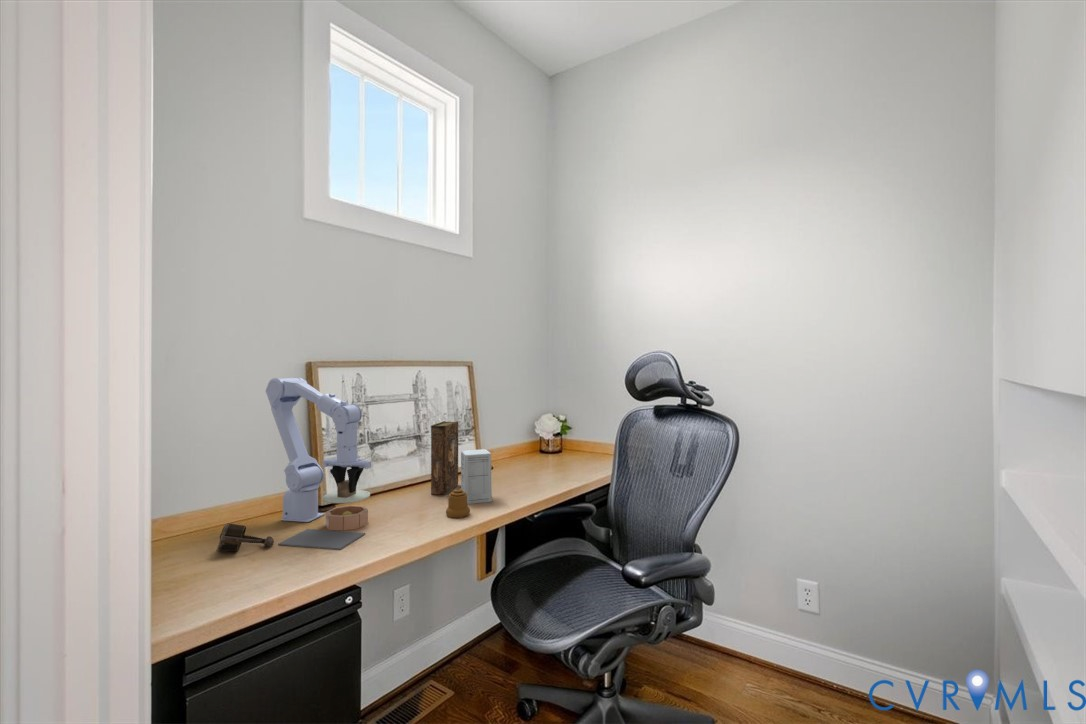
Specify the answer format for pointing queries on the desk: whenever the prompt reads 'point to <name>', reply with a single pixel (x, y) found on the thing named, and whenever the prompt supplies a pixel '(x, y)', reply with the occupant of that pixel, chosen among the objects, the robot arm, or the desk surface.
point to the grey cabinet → (476, 475)
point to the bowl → (346, 517)
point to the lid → (345, 494)
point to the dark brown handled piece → (239, 538)
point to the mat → (322, 539)
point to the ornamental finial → (457, 504)
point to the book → (444, 457)
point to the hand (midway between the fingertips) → (346, 491)
